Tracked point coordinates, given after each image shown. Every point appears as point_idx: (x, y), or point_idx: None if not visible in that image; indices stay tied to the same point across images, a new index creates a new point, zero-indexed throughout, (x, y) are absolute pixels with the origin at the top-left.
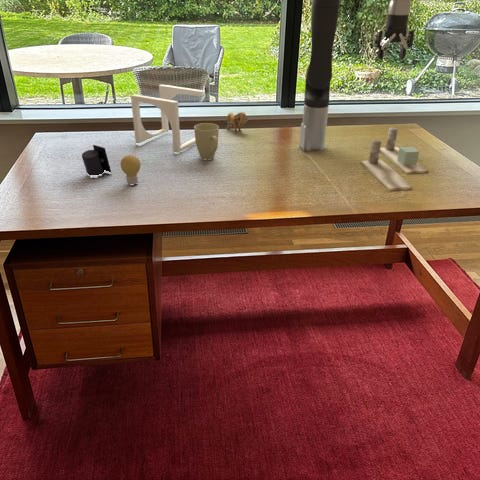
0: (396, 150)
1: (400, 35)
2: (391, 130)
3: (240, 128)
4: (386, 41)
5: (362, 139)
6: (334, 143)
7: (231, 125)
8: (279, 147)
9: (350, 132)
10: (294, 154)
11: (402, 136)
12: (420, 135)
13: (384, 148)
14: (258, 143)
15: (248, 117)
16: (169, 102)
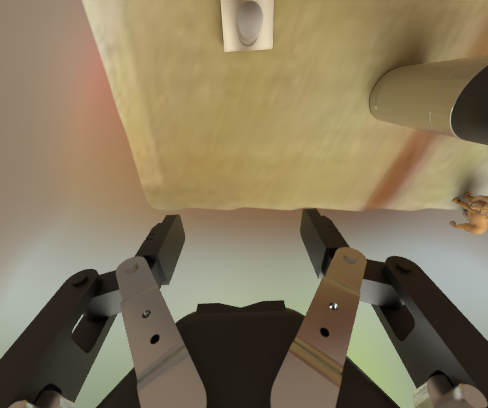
0: (235, 19)
1: (180, 395)
2: (259, 7)
3: (459, 202)
4: (356, 305)
5: (269, 138)
6: (334, 120)
7: (454, 222)
8: None
9: (275, 178)
10: (454, 57)
11: (184, 147)
12: (146, 149)
13: (259, 41)
14: None
15: (475, 206)
16: None
